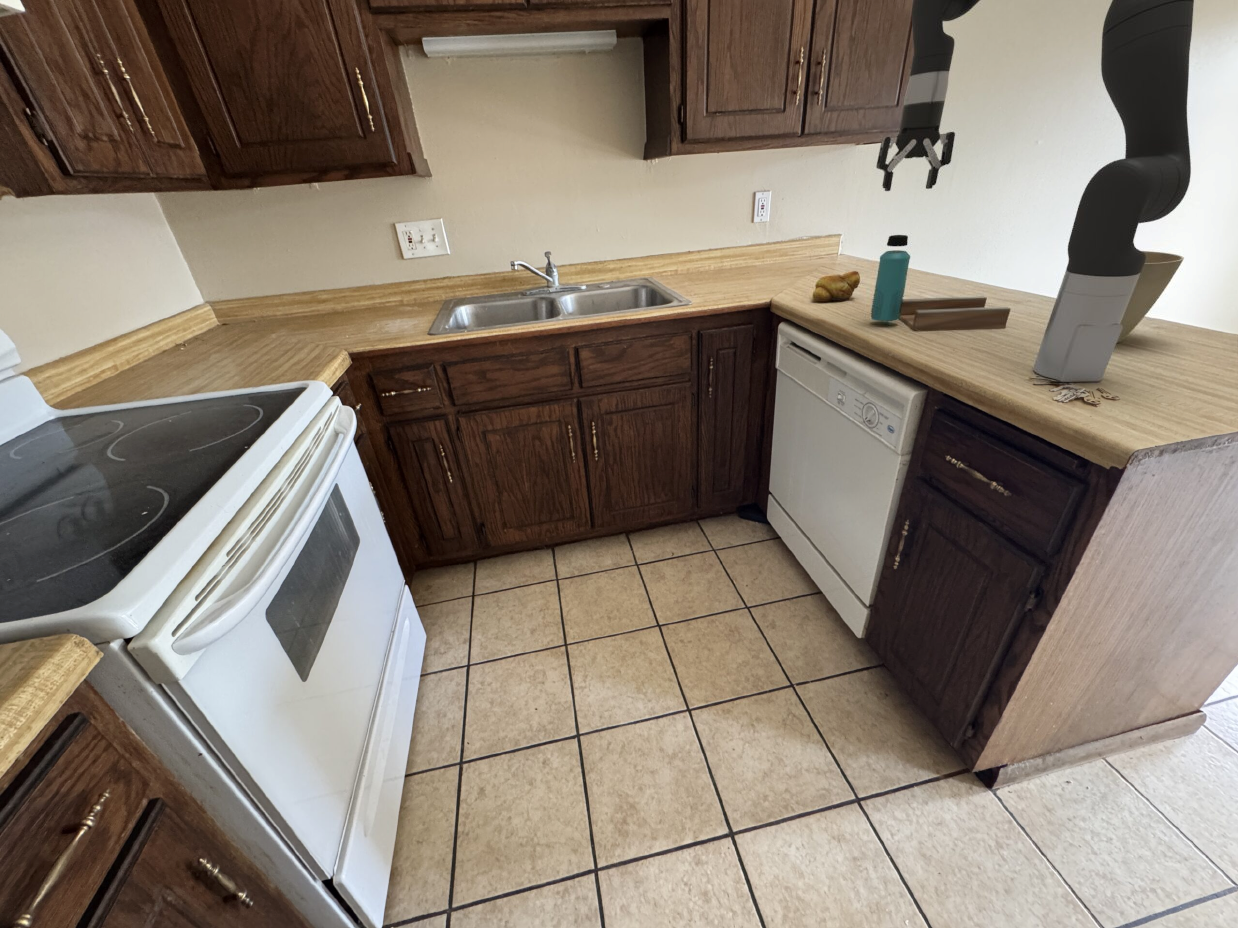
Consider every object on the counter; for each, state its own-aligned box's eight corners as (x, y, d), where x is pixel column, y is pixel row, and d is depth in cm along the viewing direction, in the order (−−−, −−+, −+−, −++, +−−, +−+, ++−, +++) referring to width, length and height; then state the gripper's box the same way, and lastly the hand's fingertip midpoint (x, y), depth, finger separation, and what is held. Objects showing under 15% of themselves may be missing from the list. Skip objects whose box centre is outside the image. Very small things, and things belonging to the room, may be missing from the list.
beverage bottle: (901, 327, 123) (919, 236, 113) (871, 328, 124) (886, 237, 114) (894, 320, 128) (911, 232, 119) (865, 321, 130) (879, 234, 120)
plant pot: (1063, 325, 116) (1090, 248, 108) (1153, 336, 106) (1190, 252, 98) (1042, 340, 108) (1070, 259, 100) (1138, 354, 98) (1176, 265, 90)
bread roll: (820, 305, 147) (823, 276, 143) (802, 299, 155) (804, 270, 151) (860, 300, 149) (865, 271, 145) (840, 294, 157) (844, 266, 153)
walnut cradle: (1005, 328, 117) (1010, 308, 115) (914, 330, 120) (918, 312, 118) (978, 314, 128) (983, 296, 126) (896, 316, 131) (899, 299, 129)
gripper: (892, 103, 106) (877, 193, 114) (969, 96, 103) (949, 188, 111) (882, 106, 112) (869, 191, 120) (955, 100, 109) (937, 187, 117)
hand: (908, 189), depth 115 cm, fingers open, 8 cm apart
